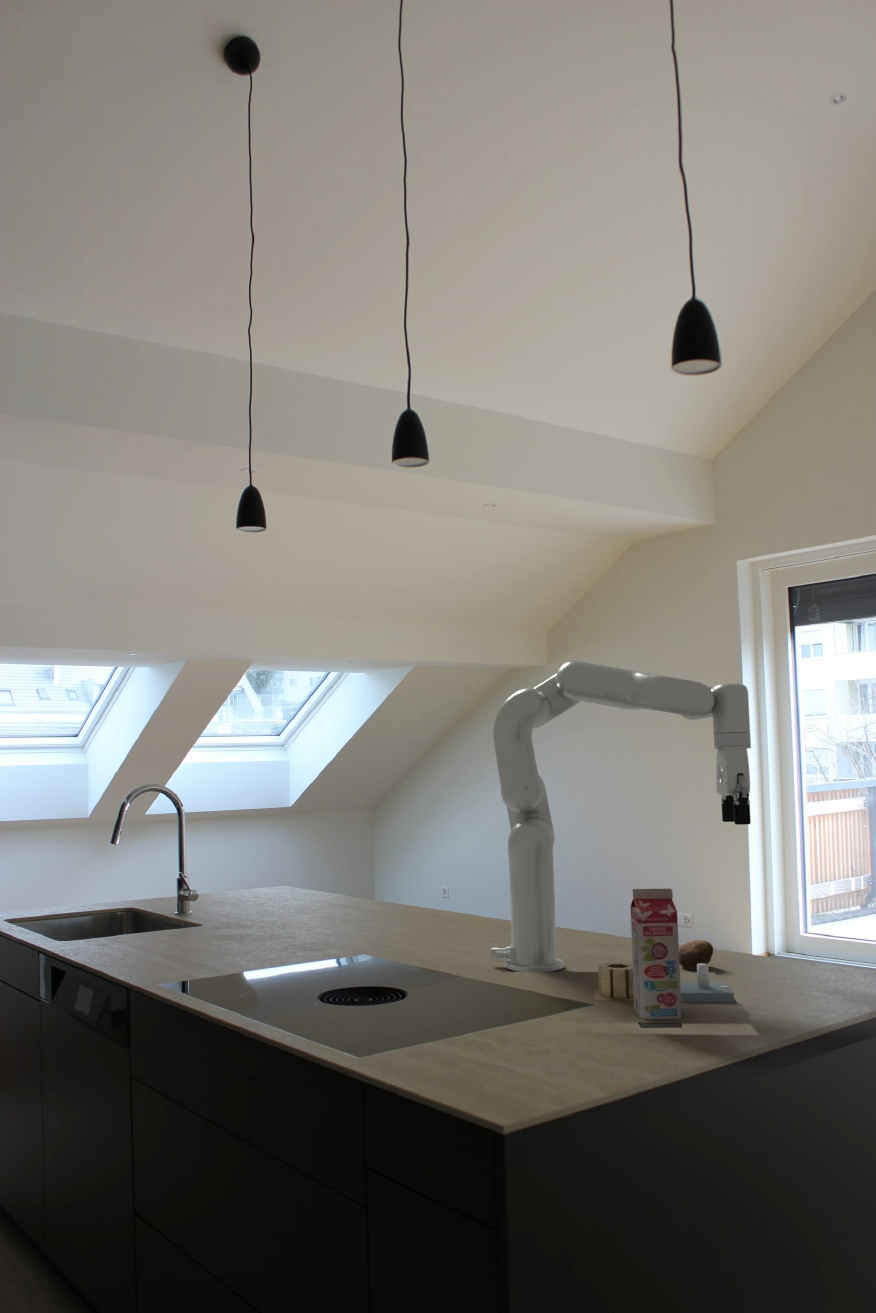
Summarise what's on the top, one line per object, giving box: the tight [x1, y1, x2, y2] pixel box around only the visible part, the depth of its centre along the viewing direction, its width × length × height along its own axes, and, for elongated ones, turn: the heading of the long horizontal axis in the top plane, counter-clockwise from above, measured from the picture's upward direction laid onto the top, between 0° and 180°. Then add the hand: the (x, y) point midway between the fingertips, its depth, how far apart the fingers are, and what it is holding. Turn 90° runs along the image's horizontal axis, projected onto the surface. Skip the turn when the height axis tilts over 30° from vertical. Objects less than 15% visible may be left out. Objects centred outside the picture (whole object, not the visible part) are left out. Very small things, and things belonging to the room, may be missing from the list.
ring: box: [597, 961, 634, 999], centre depth 184 cm, size 7×7×5 cm
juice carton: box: [630, 888, 683, 1029], centre depth 170 cm, size 7×7×22 cm
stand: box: [592, 988, 634, 1001], centre depth 184 cm, size 9×9×6 cm
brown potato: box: [679, 939, 714, 971], centre depth 214 cm, size 8×8×6 cm
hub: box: [680, 963, 735, 1003], centre depth 181 cm, size 9×9×7 cm
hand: (736, 822), depth 214 cm, fingers open, 9 cm apart
